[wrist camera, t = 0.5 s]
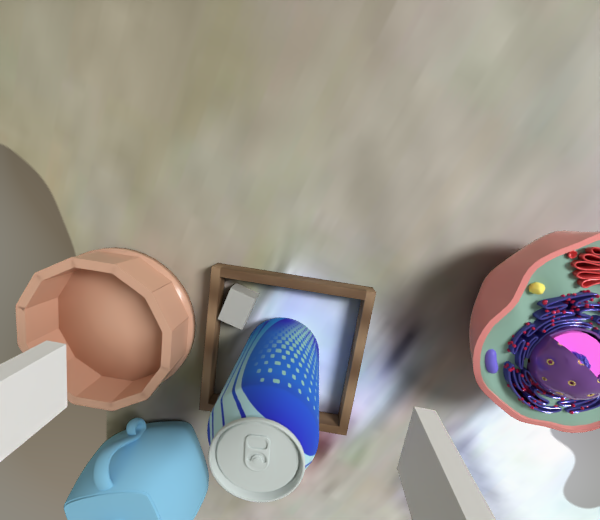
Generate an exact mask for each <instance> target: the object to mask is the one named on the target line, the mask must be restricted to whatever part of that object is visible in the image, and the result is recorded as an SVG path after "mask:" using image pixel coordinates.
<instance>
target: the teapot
mask: <svg viewBox="0 0 600 520" xmlns="http://www.w3.org/2000/svg"><path fill="white" fill-rule="evenodd" d="M208 482H209V474H208V468H207V464H206V461H205V458H204V455H203V451H202V449H201V446H200V443H199V441H198V438H197V436H196V433H195V431H194V429H193V427H192V426H191V424H189V423H187V422H183V421H165V422H154V423H147V424H146V423H145V421H144V420H143V419H142V418H134V419H132V420H130V421H129V422H128V424H127V427H126V430H124V431H121V432H119V433H117V434H115V435H114V436H112V437H111V438H109V439H108V440H107V441H105V442H104V443H103V444H102V445H101V447H100V448H99V449H98V450H97V452H96V453H95V454H94V455H93V457H92V458H91V460H90V461H89V462H88V464H87V465H86V467H85V468H84V470H83V471H82V473H81V475H80V476H79V478H78V480H77V481H76V483H75V485H74V487H73V489H72V491H71V493H70V494H69V496H68V498H67V500H66V502H65V505H64V511H65V514H66V517H67V519H68V520H193V519H194V518H195V516H196V514H197V512H198V510H199V508H200V506H201V504H202V502H203V500H204V498H205V495H206V493H207V490H208Z"/></svg>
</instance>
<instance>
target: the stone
mask: <svg viewBox="0 0 600 520" xmlns="http://www.w3.org/2000/svg"><path fill="white" fill-rule="evenodd" d="M258 296H259V293H258V292H256V291H253V290H251V289H249V288H247V287H244V286H242V285H240V284H238V283H235V284H234V285H233V286H232V287H231V288H230V291H229V293H228V296H227V298H226V300H225V303H224V305H223V308H222V310H221V312H220V315H219V317H218V319H219V320H221V321H223V322H225V323H227V324H230V325H232V326H234V327H236V328H239V329H241V330H242V329H243V328H244V326H245V324H246V323H247V321H248V318H249V316H250V314H251V312H252V309H253V307H254V305H255V303H256V300H257V298H258Z"/></svg>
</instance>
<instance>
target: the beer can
mask: <svg viewBox="0 0 600 520" xmlns="http://www.w3.org/2000/svg"><path fill="white" fill-rule="evenodd" d="M207 432H208V441H209V445H210V447H209V452H208V461H209V466H210V470H211V472H212V474H213V476H214V478H215V479H216V481H217V482H218V483H219V484H220V485H221V487H223V488H224V489H225V490H226V491H227V492H229V493H230V494H232V495H234V496H236V497H238V498H240V499H243V500H247V501H251V502H271V501H275V500H278V499H281V498H283V497H285V496H287V495H288V494H290V493H291V492H292V491H293V490H295V488H296V487H297V486H298V485H299V483H300V482H301V480H302V477H303V475H304V471H305V469H306V468H307V467H308V466H309V464H310V463H311V462H312V460H313V458H314V456H315V454H316V451H317V448H318V442H319V349H318V344H317V341H316V339H315V337H314V335H313V333H312V332H311V331H310V330H309V329H308V328H307V327H306V326H305V325H303V324H302V323H300V322H298V321H296V320H293V319H289V318H273V319H270V320H267V321H265V322H263V323H261V324H260V325H259V326H257V327H256V328H255V329H254V331H253V332H252V333H251V335H250V337H249V339H248V341H247V343H246V345H245V347H244V349H243V351H242V353H241V355H240V357H239V359H238V361H237V362H236V364H235V366H234V368H233V370H232V372H231V374H230V376H229V378H228V380H227V382H226V384H225V386H224V388H223V390H222V392H221V394H220V396H219V398H218V400H217V402H216V404H215V406H214V408H213V410H212V412H211V414H210V417H209V421H208V430H207Z"/></svg>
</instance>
